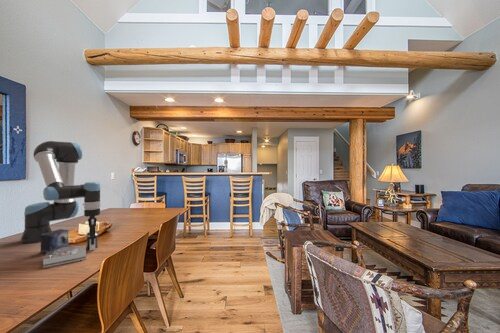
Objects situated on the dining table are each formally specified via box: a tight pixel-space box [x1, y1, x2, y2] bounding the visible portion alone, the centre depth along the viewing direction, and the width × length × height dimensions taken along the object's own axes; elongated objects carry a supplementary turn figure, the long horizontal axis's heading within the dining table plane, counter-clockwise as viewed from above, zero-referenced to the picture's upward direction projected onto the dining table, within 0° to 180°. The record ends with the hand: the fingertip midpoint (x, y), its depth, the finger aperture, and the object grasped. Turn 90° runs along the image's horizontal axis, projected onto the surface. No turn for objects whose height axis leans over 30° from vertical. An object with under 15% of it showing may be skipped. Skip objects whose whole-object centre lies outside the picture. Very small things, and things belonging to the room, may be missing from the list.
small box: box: [39, 228, 69, 254], centre depth 123 cm, size 11×6×10 cm, turn 168°
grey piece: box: [42, 244, 87, 269], centre depth 111 cm, size 12×16×5 cm
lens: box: [86, 230, 99, 251], centre depth 126 cm, size 5×5×9 cm
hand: (92, 247), depth 126 cm, fingers open, 8 cm apart
